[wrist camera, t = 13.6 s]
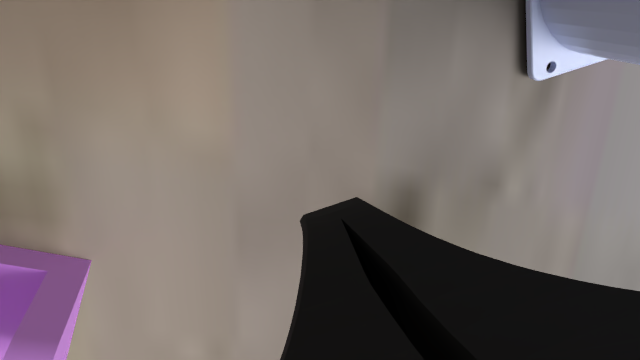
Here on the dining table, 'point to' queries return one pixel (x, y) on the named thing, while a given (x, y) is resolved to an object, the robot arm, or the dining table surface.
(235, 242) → the dining table surface
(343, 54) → the dining table surface
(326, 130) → the dining table surface
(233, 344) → the dining table surface
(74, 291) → the bracket
